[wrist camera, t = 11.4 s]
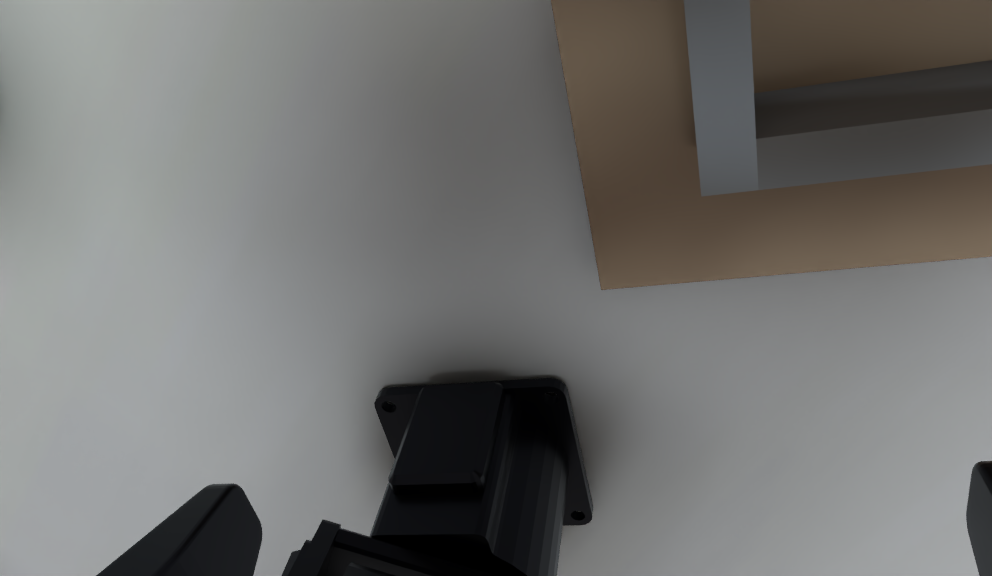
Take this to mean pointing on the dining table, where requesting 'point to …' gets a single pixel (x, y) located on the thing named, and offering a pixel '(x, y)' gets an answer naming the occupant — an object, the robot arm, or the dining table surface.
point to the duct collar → (779, 134)
